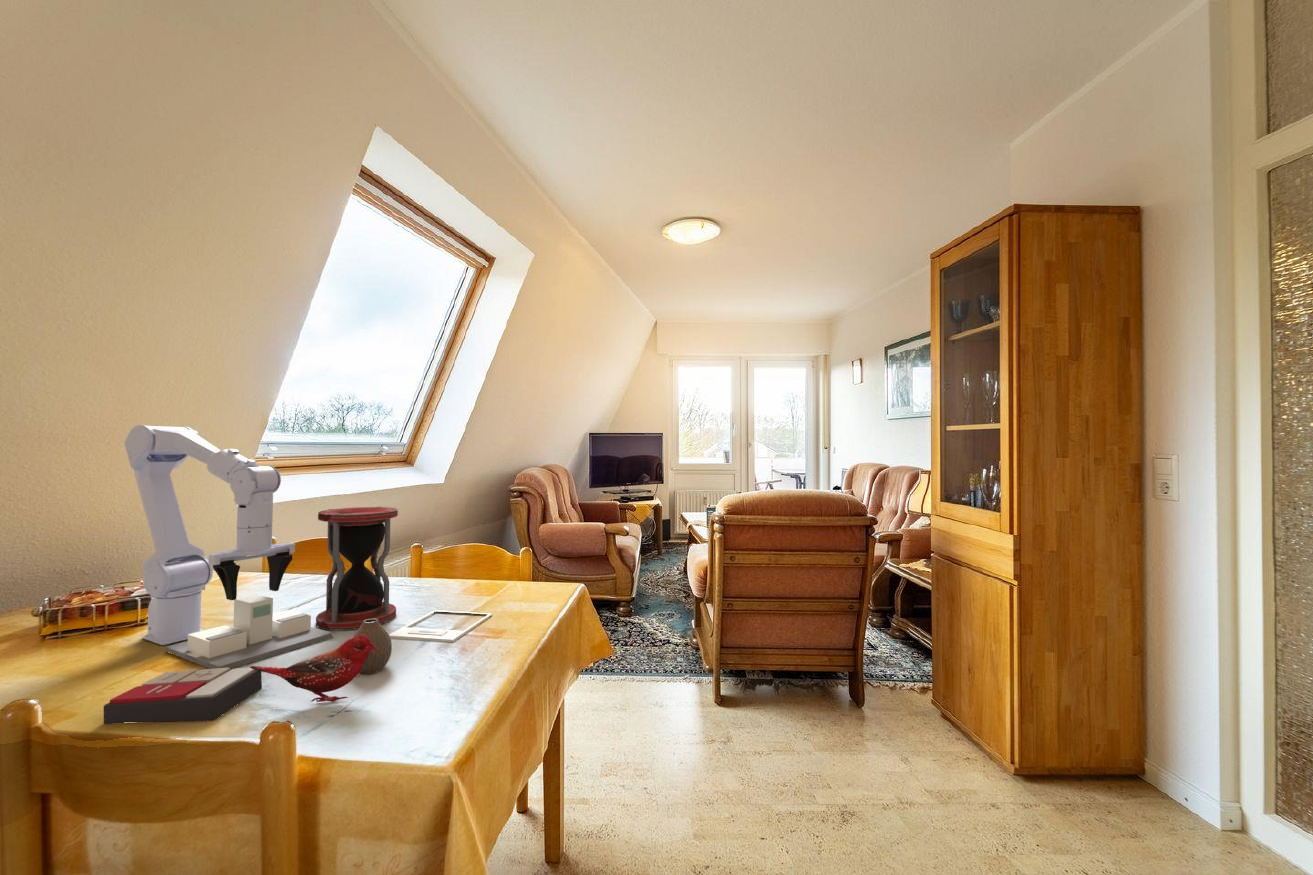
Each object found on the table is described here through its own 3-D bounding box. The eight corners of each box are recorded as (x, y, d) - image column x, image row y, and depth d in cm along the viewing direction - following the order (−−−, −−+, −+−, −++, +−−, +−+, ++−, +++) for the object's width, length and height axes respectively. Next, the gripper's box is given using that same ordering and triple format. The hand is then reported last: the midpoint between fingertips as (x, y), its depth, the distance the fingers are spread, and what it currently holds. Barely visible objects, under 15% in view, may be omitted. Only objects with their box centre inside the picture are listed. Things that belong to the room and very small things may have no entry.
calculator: (165, 669, 88) (262, 662, 89) (165, 696, 88) (263, 689, 89) (101, 700, 77) (213, 692, 78) (101, 731, 77) (213, 722, 78)
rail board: (165, 651, 104) (165, 629, 104) (278, 622, 122) (278, 603, 122) (219, 672, 95) (219, 647, 95) (332, 637, 113) (333, 617, 113)
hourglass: (349, 607, 134) (351, 505, 135) (410, 610, 132) (412, 507, 132) (297, 628, 118) (300, 513, 119) (365, 632, 116) (368, 514, 116)
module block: (233, 639, 108) (234, 598, 108) (255, 633, 112) (256, 594, 112) (250, 644, 105) (250, 603, 105) (272, 638, 109) (273, 598, 109)
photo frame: (387, 634, 113) (435, 609, 131) (387, 639, 113) (434, 614, 131) (453, 638, 111) (492, 612, 128) (452, 644, 111) (492, 617, 128)
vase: (346, 681, 92) (347, 628, 92) (348, 666, 98) (349, 617, 98) (391, 673, 95) (392, 623, 95) (390, 660, 101) (391, 612, 101)
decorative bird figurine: (373, 701, 84) (374, 636, 85) (243, 712, 81) (245, 644, 81) (378, 693, 87) (380, 630, 87) (253, 703, 83) (255, 638, 84)
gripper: (222, 532, 101) (221, 606, 100) (304, 523, 114) (302, 589, 113) (203, 529, 104) (201, 601, 104) (284, 521, 117) (283, 584, 117)
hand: (253, 594), depth 109 cm, fingers open, 7 cm apart
